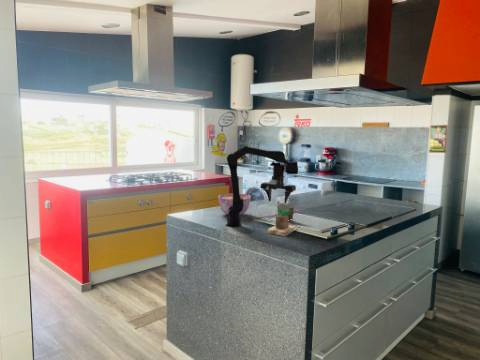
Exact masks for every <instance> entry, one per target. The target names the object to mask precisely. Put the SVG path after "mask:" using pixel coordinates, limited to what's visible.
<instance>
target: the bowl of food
mask: <svg viewBox="0 0 480 360" xmlns="http://www.w3.org/2000/svg"><path fill="white" fill-rule="evenodd" d="M239 195H240V198H241V197H243V204H244V207H243V210H242V211H241V212H240V213H239V214H240V217H241V216H242V215H244V214H246V212H247V211H248V209H249V206H250V202H251V198H252V196H251V195H248V194H245V193H239ZM217 198H218V203H219V207H220V210H221V211H222V213H224V214H226V215H227V214H229V212H228V209H229V208H230V207H231V206H232V199H233V193H224V194H219V195H218V197H217Z"/></svg>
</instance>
